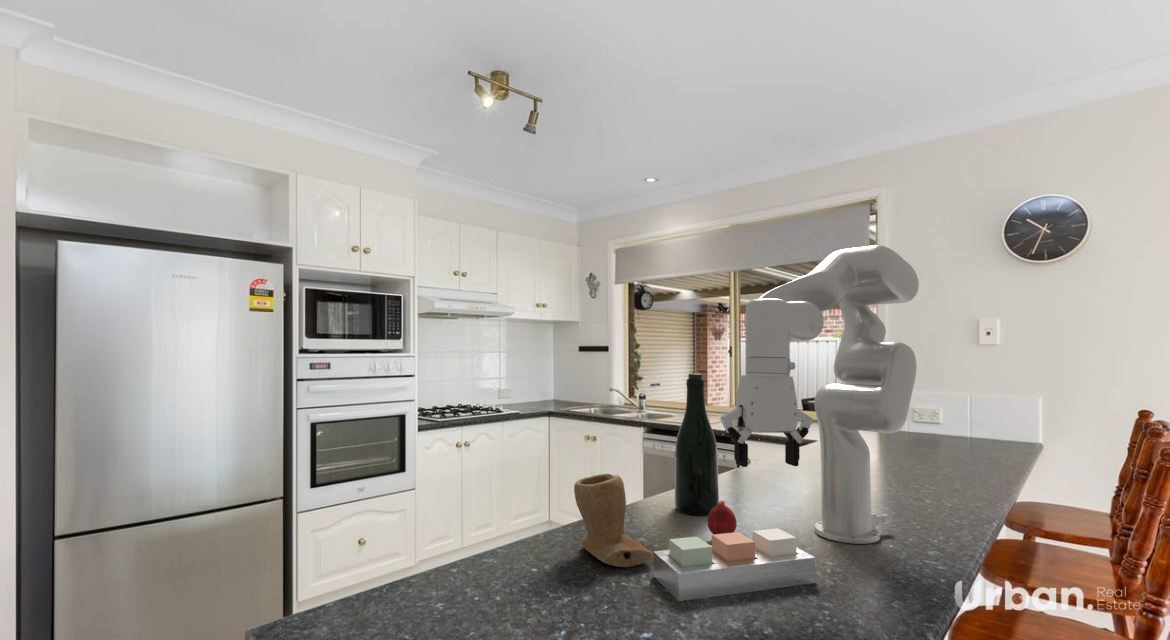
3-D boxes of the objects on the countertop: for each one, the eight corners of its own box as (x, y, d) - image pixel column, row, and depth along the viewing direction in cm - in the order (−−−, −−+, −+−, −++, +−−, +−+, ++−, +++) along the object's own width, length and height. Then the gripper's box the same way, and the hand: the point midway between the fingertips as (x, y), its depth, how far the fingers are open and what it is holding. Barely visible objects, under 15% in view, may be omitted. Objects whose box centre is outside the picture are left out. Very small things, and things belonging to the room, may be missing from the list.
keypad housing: (779, 561, 104) (779, 538, 104) (815, 582, 94) (815, 557, 95) (653, 576, 97) (653, 551, 97) (678, 601, 88) (678, 573, 88)
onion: (737, 546, 112) (737, 505, 112) (707, 544, 113) (707, 503, 113) (735, 536, 118) (735, 497, 118) (707, 534, 119) (707, 496, 119)
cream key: (778, 545, 101) (777, 528, 102) (796, 555, 96) (796, 537, 97) (752, 548, 100) (752, 530, 100) (769, 558, 95) (769, 540, 95)
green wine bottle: (686, 501, 144) (685, 372, 146) (725, 508, 138) (723, 373, 140) (667, 511, 136) (666, 373, 137) (708, 519, 130) (706, 374, 131)
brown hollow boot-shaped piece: (566, 547, 112) (566, 470, 112) (621, 540, 116) (621, 466, 116) (593, 576, 97) (593, 488, 98) (655, 567, 102) (654, 482, 102)
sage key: (697, 554, 97) (697, 536, 97) (712, 565, 92) (711, 546, 92) (669, 557, 96) (669, 539, 96) (682, 568, 91) (682, 549, 91)
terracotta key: (738, 549, 99) (738, 532, 99) (755, 560, 94) (755, 541, 94) (711, 552, 98) (711, 534, 98) (727, 563, 93) (727, 544, 93)
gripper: (798, 368, 106) (799, 461, 105) (713, 366, 103) (712, 462, 102) (823, 369, 99) (823, 468, 98) (732, 367, 96) (731, 470, 94)
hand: (767, 465), depth 100 cm, fingers open, 9 cm apart
